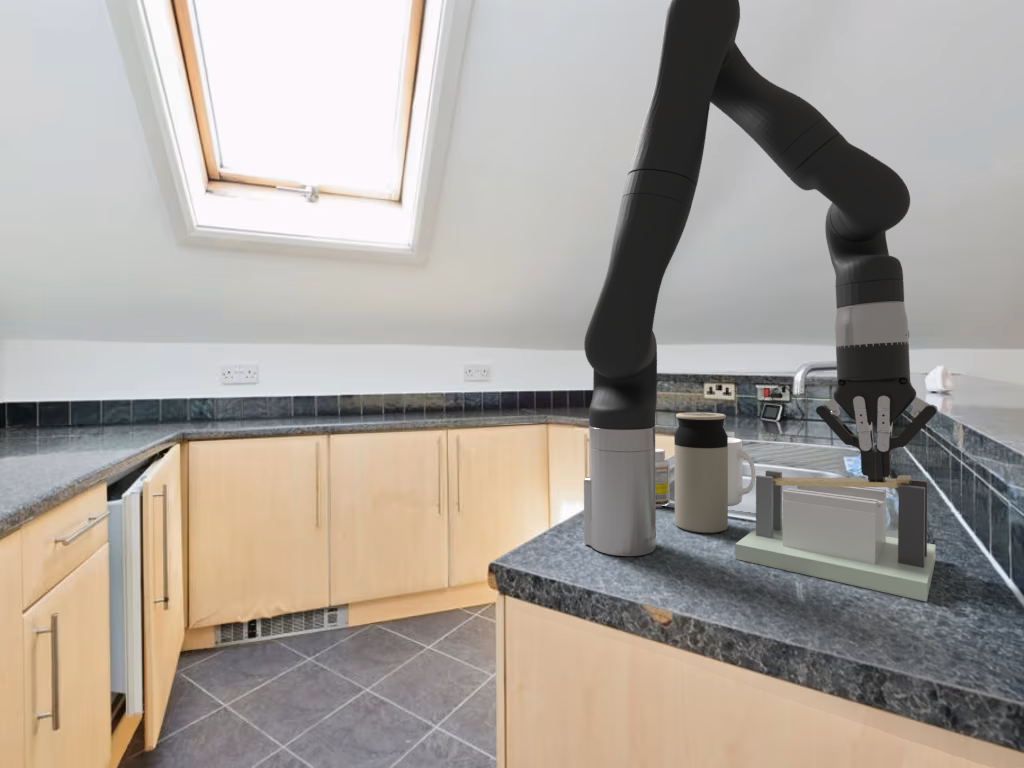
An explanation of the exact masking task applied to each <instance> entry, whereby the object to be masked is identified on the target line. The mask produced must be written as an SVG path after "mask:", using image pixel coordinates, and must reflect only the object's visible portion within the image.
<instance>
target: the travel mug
mask: <svg viewBox="0 0 1024 768" xmlns="http://www.w3.org/2000/svg"><path fill="white" fill-rule="evenodd" d="M675 415H676V416H675V417H676V418H677V422H678V423H677V424H678V427H677V428H676V431H675V433H674V442H673V443H674V524H675V525H676V526H677V527H678V528H680V529H682V530H684V531H688V532H692V533H697V534H717V533H721V532H723V531H726V530H728V527H729V525H728V524H729V521H728V520H729V519H728V518H729V517H728V515H729V513H728V512H729V510H728V509H729V506H728V434H727V431H726V430H725V428H724V422H725V419H726V418H727V415H726V414H724V413H717V412H696V411H695V412H679V413H677V414H675Z"/></svg>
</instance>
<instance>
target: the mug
mask: <svg viewBox="0 0 1024 768" xmlns="http://www.w3.org/2000/svg"><path fill="white" fill-rule="evenodd" d="M743 446H744V445H743V440H742V439H741V438H737V437H736V438H735V437H730V436H729V437H728V507H733V506H738V505H739V504H741V503H742V500H743V496H744V495H747V494H749V493H751V491H753V489H754V487H755V485H756V468H755V466H756V465H755V463H754V461H753V459H752V457H751V456H750V455H749V454H748V453H747V452H746V451H745V450H743ZM743 460H746V461H747V462H748V464H749V467H750V474H751V475H750V476H751V478H750V482H749V484H748V486H746V487H745V488H743V487H744V486H743V478H744V477H743V476H744V475H743Z"/></svg>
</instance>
